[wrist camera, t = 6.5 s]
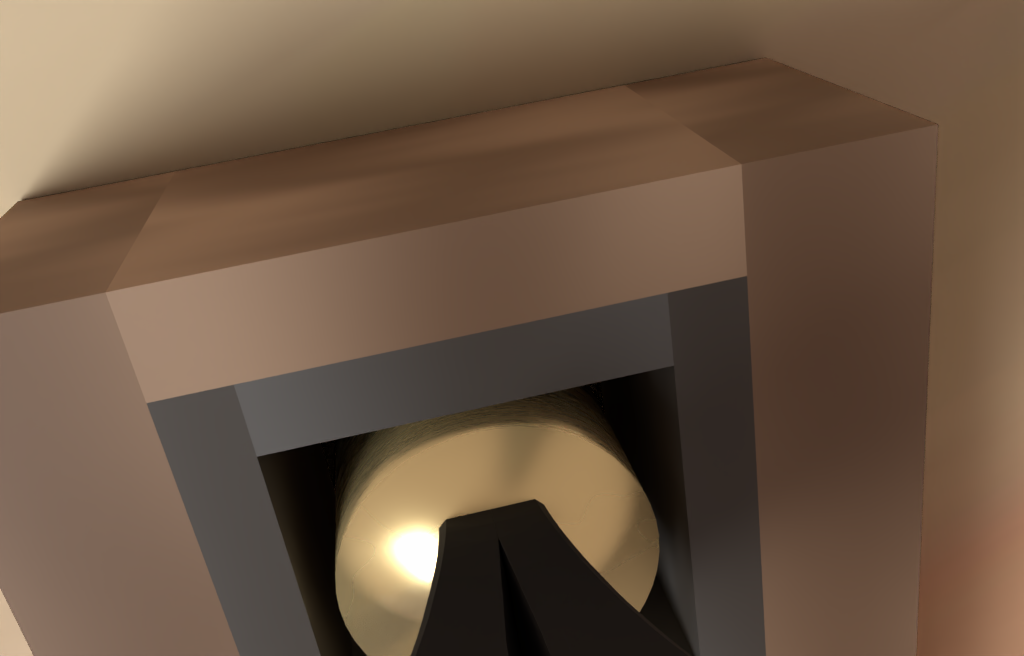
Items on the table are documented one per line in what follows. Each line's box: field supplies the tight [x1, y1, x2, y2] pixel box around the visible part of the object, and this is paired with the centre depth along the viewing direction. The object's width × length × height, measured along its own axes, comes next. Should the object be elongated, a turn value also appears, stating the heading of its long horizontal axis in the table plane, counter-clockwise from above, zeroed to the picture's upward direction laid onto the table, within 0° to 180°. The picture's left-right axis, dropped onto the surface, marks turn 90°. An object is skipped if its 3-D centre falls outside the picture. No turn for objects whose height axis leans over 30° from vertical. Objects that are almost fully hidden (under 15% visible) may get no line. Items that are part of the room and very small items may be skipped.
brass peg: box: [335, 384, 659, 656], centre depth 15 cm, size 4×4×5 cm
